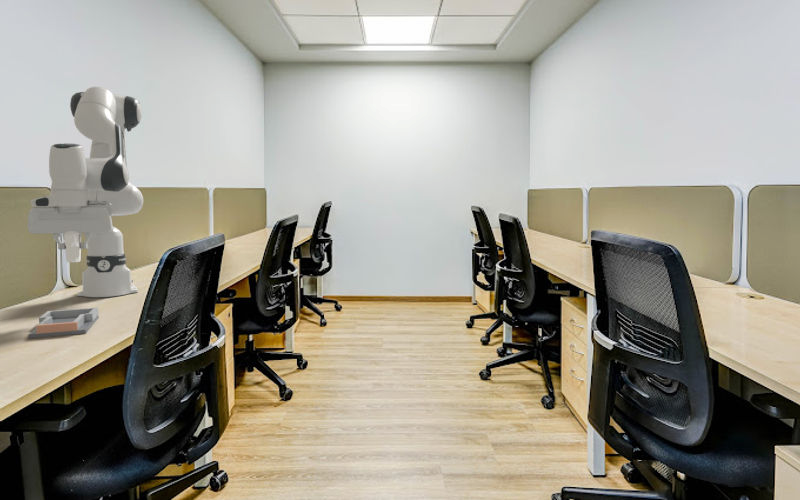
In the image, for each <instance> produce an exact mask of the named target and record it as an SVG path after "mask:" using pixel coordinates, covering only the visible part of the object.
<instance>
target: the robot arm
mask: <svg viewBox="0 0 800 500" xmlns="http://www.w3.org/2000/svg"><path fill="white" fill-rule="evenodd" d="M69 106H70V107H69V108H70V112H71V115H72V117H73V118H74V119H73V121H74V125H75V127H76V129H77V130H78V132H79V133H80V134H81V135H82V136H84V137H85V138H87V139H89V140H90V141H91V146H90V152H89V157H86V156H85V152H84V148H83V146H82V145H80V144H77V143H54V144H53V145H51V146H50V150H49V155H48V156H49V157H48V159H49V160H48V169H49V170H48V172H49V176H50V180H51V185H50V194H47V195H43V196H40V197H37V198H32V199H31V200H30V206H31V207H32V208H31V209H30V210H29V211H28V215H27V226H26V227H27V231H28V233H30V234H32V235H40V234H41V235H44V234H45V235H46V234H48V235H49V234H52V239H53V240H54V241H55V242H56V244H57V247H58V248H57V249H58V250H65V246H64V242H62V241H61V239H60V238H61V234H63V233H65V232H69V231H74V232H77V233H82V234H84V238H85V239H84V241H83V242H82V241H81V243H80V245H81V250H86V249H87V255H86V259H85V260H86V261H85V262H86V266H87V268H86V269H85V270H84V271H82V275H81V276H82V282H81V283H82V291H79V292H77V296H78V297H87V298H110V297H119V296H123V295H127V294H128V295H129V294H133V293H134V294H135V293H138V292H139V289H138V287H137V286H136V285H135V284H134V283H133V282H134V281H133V279H132V276H131V269H130V268H128V267H127V265H126V264H127V258H126V254H125V252H124V251H125V250H124V235H123V232H121V230H120V229H119V228H117V227H116V226H113V220H112V217H114V216H115V217H117V216H118V217H119V216H121V217H123V216H129V215H134V214H138V213H139V212H140V211H141V210H142V208H143V206H144V196H143V193H142V192H141V191H140V189H139V188H137V187H136V186H135V185H133V184H132V183H131V182H130V181H129V180H130V179H129V178H130V176H129V170H128V167H127V136H126V131H127V133H128V132H131V131H132V129H135V128H136V127H137V126H138V125H139V124H140V122H141V119H142V117H143V116H142V115H143V110H142V107H141V104H140V102H139V100H138V99H137V98H135V97H133V96H128V95H126V96H124V95H120V94H114V93H112V92H111V91H110V90H108V89H106V88H105V87H101V86H92V87H89V88H87V89H86V90H85V91H77V92H75V93H74V94H73V95H71V97H70V103H69ZM125 130H126V131H125Z"/></svg>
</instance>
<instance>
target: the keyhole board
mask: <svg viewBox="0 0 800 500" xmlns="http://www.w3.org/2000/svg"><path fill="white" fill-rule="evenodd" d="M99 318H100V317H99V306H98V307H86V308H85V307H83V308H73V309H72V308H71V309H69V308H68V309H57V310H47V311H46V312H45V313H43V314H42V315H41V316H39V317H38V324H37V325H36V328H34V329H33V330H32V331H30V332H29V333H28V334H27V337H28V339H38V338H50V337H51V338H52V337H62V336H63V337H64V336H71V335H82V334H83V335H85V334H87V333H88V331H89V330H90V329H91V328H92V327H93V325H94V324H95V323H96V322H97V320H98V319H99Z"/></svg>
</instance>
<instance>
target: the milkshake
mask: <svg viewBox="0 0 800 500" xmlns="http://www.w3.org/2000/svg"><path fill="white" fill-rule="evenodd" d="M82 235H83V233H77V232H74V231H69V232H65V233H62V238H63V243H64V246H65V249H64V254H65V259H66V263H80V262H81V260H82V258H81V257H82V255H81V254H82V249H81V245H80V243H82V237H83V236H82Z"/></svg>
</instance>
